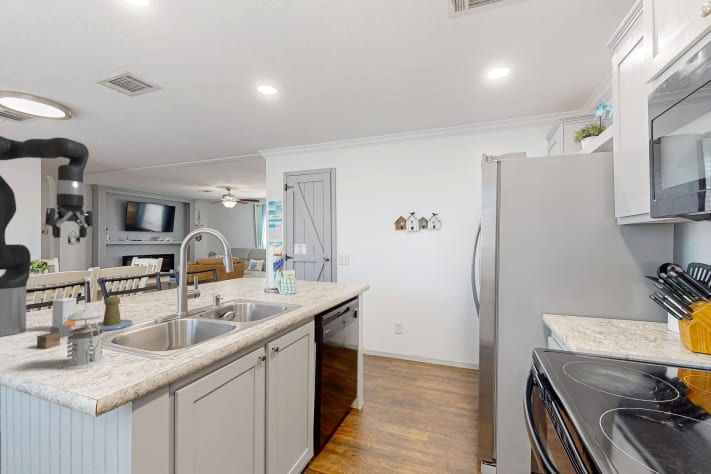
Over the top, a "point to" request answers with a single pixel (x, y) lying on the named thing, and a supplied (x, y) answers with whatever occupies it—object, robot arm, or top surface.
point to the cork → (111, 311)
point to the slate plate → (114, 327)
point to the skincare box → (63, 311)
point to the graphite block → (61, 330)
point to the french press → (84, 340)
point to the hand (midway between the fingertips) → (70, 237)
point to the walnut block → (48, 340)
